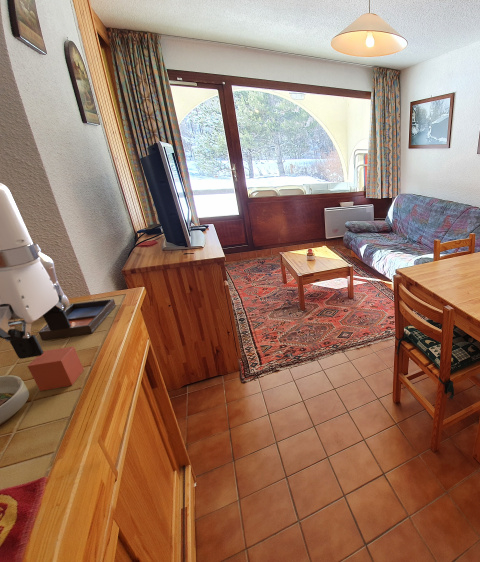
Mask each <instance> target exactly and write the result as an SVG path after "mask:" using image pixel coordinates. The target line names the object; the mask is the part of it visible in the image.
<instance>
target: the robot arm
mask: <svg viewBox="0 0 480 562" xmlns="http://www.w3.org/2000/svg"><path fill="white" fill-rule="evenodd" d="M12 195H13V194H12V192H11V191H10V189H9V188H8V187H7V185H5V184H3V183H2V182H0V339H3V340H5V342H9V343H10V344H11V347H12V349H13V350H14V353H15V354H16V356H17V358H18V359H20V360H23V359H29V358H34V357H35V358H36V357H37V356H41V355H42V354H43V351H44V350H43V348H42V346H41V344H40V342H39V340H38V339H37V337H36V335H35V334H32V323H34V322H36V321H37V320H39V319H40V318H42V317H43V319H44V320H45V323H46V325H47V324H48V327H49V329H50V330H51V331H55V330H62V329H68V328H70V327H71V325H70V322H69V320H68V318H67V316H66V313H65V311H64V310H63V309H64V305H63V304H62V303H61V302H62V296H61V295H59V294H60V288H59V285H60V284H59V285H56V284H53V283H52V281H51V279H50V277H49V275H48V273H47V272H46V270H45V268H44V267H43V265H42V263H41V262H40V257H39V255H38V253H37V251H36V249H35V246H34V244H33V243H34V242H33V240H32V238H31V236H30V235H31V234H30V233H29V231H28V228H27V227H26V223H25V222H24V219H23V217H22V215H21V213H20V210H19V207H18V206H17V204H16V202H15V200H14V197H13V196H12ZM21 326H22V327H21ZM16 327H21V330H19V329H16Z"/></svg>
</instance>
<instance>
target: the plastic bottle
mask: <svg viewBox="0 0 480 562" xmlns="http://www.w3.org/2000/svg"><path fill="white" fill-rule="evenodd" d="M33 244H34V246H35V249H36V251H37V253H38V255H39V257H40V262H41V263H42V265H43V267H44V268H45V270H46V272H47V273H48V275H49V277H50V279H51V281H52V283H53V284H56V285H59V288H60V294H59V295H61V296H62V302H61V303H62V304H63V305H64V309H63V310H65V309H66V308H67V307H68V306H69V305H71V303H70V300H69V298H68V297H67V295H66V294H65V293H64V291H63V289H62V287H61V285H60V283H59V280H58V277H57V274H56V273H57V272H56V269H55V263H54V261H53V259H52V258H50V257H49V256H48V255H46V254H44V253H42V252H41V251H42V249H41V248H40V246H39V244H38V243H34V242H33Z"/></svg>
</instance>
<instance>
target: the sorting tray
mask: <svg viewBox="0 0 480 562" xmlns="http://www.w3.org/2000/svg"><path fill="white" fill-rule="evenodd" d="M116 307H117V304H116V302H115V299H114V298H110V299H101V300H92V301H83V302H75V303H70V305H69V306H68V307H67V308H66V309H65V310H64V311H65V313H66V316H67V318H68V320H69V322H70V325H71V327H70V328H68V329H62V330H55V331H51V330H50V329H49V327H48V324H47V323H46V325H45V326H44V327H43V328H41V329H40V330H39V331H38V332H37V333H38V335H39V337H40V339H41V341H42V342H43V341H49V340H57V339H64V338H70V337H78V336H84V335H85V336H86V335H92V334H93V333H94V332H96V330H97V329H98V328H99V327H100V325H101V324H102V323H103V322H104V321H105V319H107V317H108V316H109V315H110V314H111V313H112V311H113V310H114V309H116Z"/></svg>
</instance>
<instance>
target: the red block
mask: <svg viewBox="0 0 480 562" xmlns="http://www.w3.org/2000/svg"><path fill="white" fill-rule="evenodd" d="M26 368H28V370H29V372H30V375H31V376H32V378H33V381H34V382H35V384H36V386H37V388H38V390H39V391H40V392H43V391H50V390H53V389H58V388H65V387H71V386H73V385H74V384H75V383H76V381H77V380H78V378H79V377H80V376H81V374H82V373H83V372H84V371H85V369H84V366H83V364H82V362H81V360H80V357H79V355H78V353H77V350H76V347H75V346H68V347H60V348H55V349H54V348H53V349H47V350H43V354H42V355H41V356H35V358H33V360H32V361H31V362H30V363H29V364H28V365H27V367H26Z"/></svg>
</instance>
